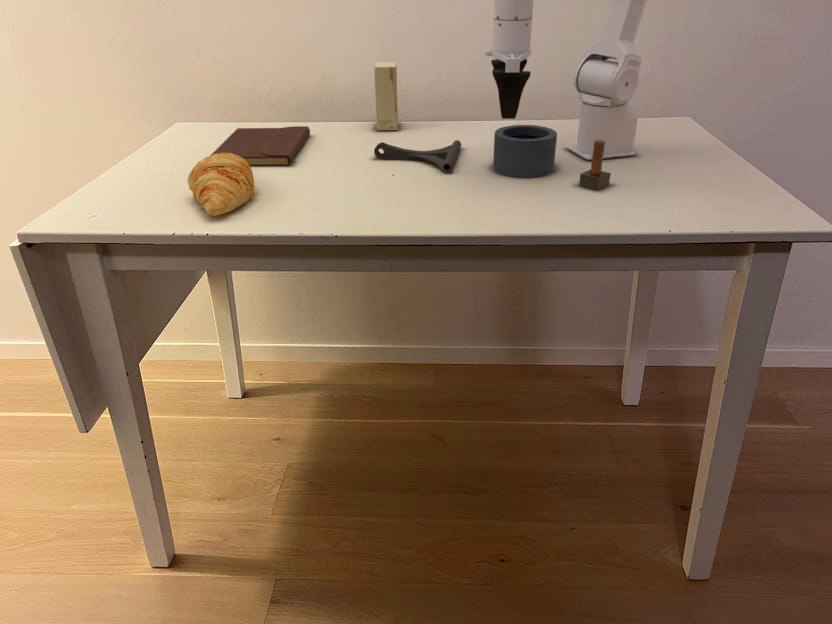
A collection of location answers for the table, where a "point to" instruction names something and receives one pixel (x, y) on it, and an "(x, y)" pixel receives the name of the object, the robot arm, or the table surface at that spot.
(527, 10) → the robot arm
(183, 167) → the table surface
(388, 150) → the bracket
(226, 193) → the croissant
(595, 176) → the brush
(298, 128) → the notebook
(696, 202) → the table surface
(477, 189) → the table surface
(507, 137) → the jar
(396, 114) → the cosmetic box
